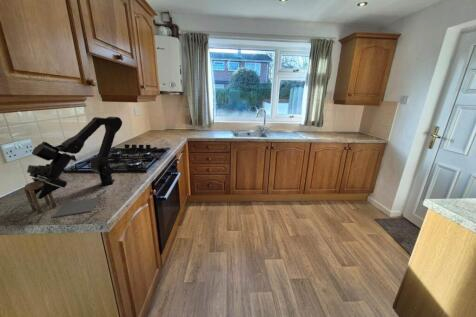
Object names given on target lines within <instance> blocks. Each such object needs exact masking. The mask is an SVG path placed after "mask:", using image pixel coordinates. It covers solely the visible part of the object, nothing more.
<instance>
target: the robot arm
mask: <svg viewBox="0 0 476 317" xmlns="http://www.w3.org/2000/svg"><path fill="white" fill-rule="evenodd" d="M122 125H123V121H122V119H121V118H120V117H119V116H108V117H100V116H99V117H98V116H94V117H93V118H92V119H91V120H90V121H89V122H88V123H87V124H86V125H85V126H84V127H83V128H82V129H81V130H80V131H79V132H77V133H76V134H75V135H74V136H72V137H68V138H67V139H66V140H64V141H63V142H62V143H60V144H59V145H55V146H54V145H51V144H50V143H48V142H47V141H42V142H41V143H40V144H38V145H37V146H35V147H34V148H33V149H32V152H31V153H32V154H31V155H32V156H35V157H38V158H41V159H42V160H45V161H48V162H49V161H50V163H47V164H45V165H41V164H39V165H32V164H30V165H28V167H27V170H26V173H27V174H29V176H30V177H31V179H32V182H35V181H41V180H43V181H45V182H43V185H44V187H43V189H42V190H41V188H39V189H35V190H34V192H35V195H37V194H38V193H39V195H38V196H37V200H38V199H39V200H42V199H43V198H44V197H45V196H46V195H47V196H49V195H48V194H50V193H53V192H55V191H57V190H58V189H60V188H61V187H62V188H66V187H67V185H68V183H67V180H63V179H62V178H60V177H61V175H62V174H63V173H66V171H67V170H66V168H67V166H68V165H69V164H70V163H71V161H74V162H77V158H76V155H77V154H79V153H80V152H81V150H82V149H83V148H84V146H85V142H87V140H88V139H89V138H90V137H91V136H92V135H93V134H94V133H95V132H96V131H97V130H98V129H99V128H100V127H101V126H104V129H105V133H104V134H103V138H102V142H101V145H100V148H99V152H98V155H97V156H96V157H91V162H90V163H89V166H90V169H91V171H92V172H95V174H97V175H98V176H99V180H100V183H99V184H98V186H99V187H102V186H104V187H105V186H111V185H113V184H114V183H115V181H116V179H115V178H114V179H113V174H114V173H115V168H113V167H110V160H109V156H110V153H111V149H112V147H113V143H114V140H115V137H116V134H117V132H118V131H120V130H121V127H122Z"/></svg>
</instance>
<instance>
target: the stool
mask: <svg viewBox="0 0 476 317" xmlns="http://www.w3.org/2000/svg"><path fill="white" fill-rule="evenodd" d="M43 182H46V181H43V180H41V181H35V182H34V181H32V182H29V183H27V184H25V185H24V188H23V190H24V192H25V194H26V198H27V200H28V203H29V205H30V208H31V210H32V212H35V211H36V212H37V214H39V215H40V214H42V213H43V211H42V209H41V206H40V204H39V200H38V197H37V196H36V195H37V194H36V195H35V192H34V190H35V189H39V188H41V191H42V189H43V187H44V185H43ZM43 198H44V201H45V204H46V205H47V206H50V205H51V207H52V208H56V207H57V205H56V202H55V199H54V196H53V192H51V193H50V194H48V195H46V196H45V197H43Z"/></svg>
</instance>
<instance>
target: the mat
mask: <svg viewBox="0 0 476 317" xmlns="http://www.w3.org/2000/svg"><path fill="white" fill-rule="evenodd" d="M99 200H100V197H94V198H85V199H78V200H70V201H65V202H64V203H63V204H62V206H61V207H60V208H58V210H57V211H56V212H55V213H54V214H53V215H52V218H58V217H65V216H71V215H79V214H85V213H91V212H93V209H94V208H95V207H96V204H97V203H98V202H99Z"/></svg>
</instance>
